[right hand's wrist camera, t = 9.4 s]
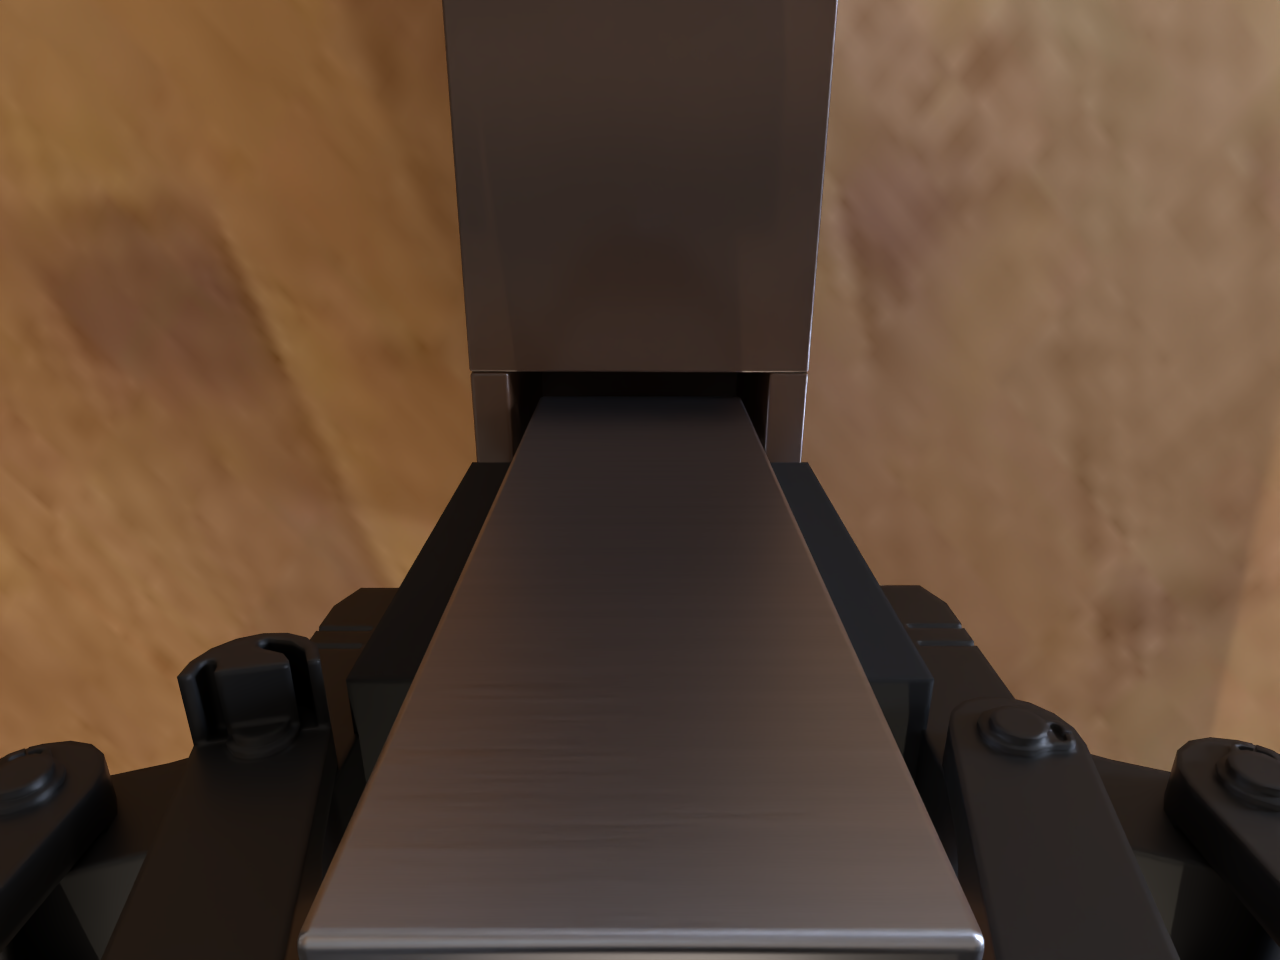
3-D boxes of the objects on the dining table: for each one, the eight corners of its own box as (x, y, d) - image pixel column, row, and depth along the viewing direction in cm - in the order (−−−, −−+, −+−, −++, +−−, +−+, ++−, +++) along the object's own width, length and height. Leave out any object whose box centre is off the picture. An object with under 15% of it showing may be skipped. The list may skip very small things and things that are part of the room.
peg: (741, 395, 16) (993, 942, 4) (733, 574, 17) (907, 1330, 6) (539, 395, 16) (288, 940, 4) (547, 574, 17) (372, 1330, 6)
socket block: (464, -642, 15) (354, -1155, 9) (819, -641, 15) (932, -1153, 9) (527, 543, 23) (491, 661, 18) (750, 544, 23) (785, 661, 18)
